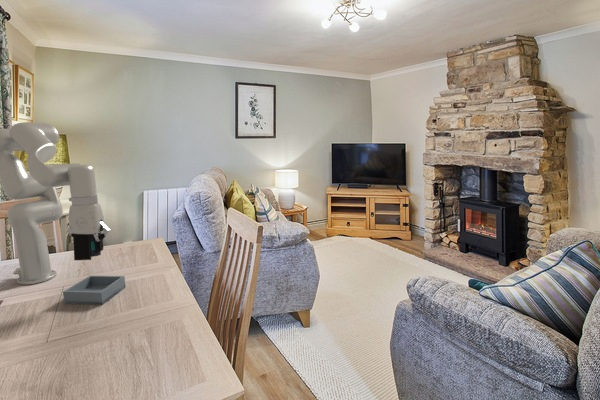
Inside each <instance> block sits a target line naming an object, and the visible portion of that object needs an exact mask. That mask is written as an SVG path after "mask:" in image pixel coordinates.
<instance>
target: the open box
mask: <svg viewBox="0 0 600 400" xmlns="http://www.w3.org/2000/svg"><path fill="white" fill-rule="evenodd" d="M126 287H127V286H126V277H125V276H124V275H89V276H87V277H85V278H83V279H82V280H80V281H78V282H77V283H74V284H73V285H72V286H70V287H69V288H66V289H65V290H63V291H62V294H63V301H64V305H95V306H98V305H99V306H100V305H101V306H102V305H104V304H106V303H107V302H109V301H110V300H111V299H113V297H115V296H117V295H118V294H119V293H120V292H122V290H124V289H125V288H126Z"/></svg>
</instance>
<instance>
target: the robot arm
mask: <svg viewBox="0 0 600 400" xmlns="http://www.w3.org/2000/svg"><path fill="white" fill-rule="evenodd" d="M59 140H60V134H59V132H58V130H57V128H56V127H55V126H54V125H52V124H50V123H45V122H19V123H15V124H13V125H12V126H11V127H10V128H0V183H1V186H2V189H3V192H4V193H5V196H6V197H7V198H8V199H10V200H13V201H17V200H18V201H20V200H21V202H19V203H16V204H13V205H11V206H10V207H9V208H8V209H7V218H8V220H9V221H8V222H9V224H10V226H11V228H12V232H13V235H14V240H15V246H16V250H17V257H18V263H19V267H16V269H15V270H14V271H13V275H18V278H17V279H16V282H17V284H18V285H34V284H39V283H43V282H46V281H49V280H52V279H53V278H55V277H56V276H57V271H56V270H54V269H52V267H51V261H50V253H49V248H48V241H47V235H46V233H45V232H44V231H43V230H42V229H41V228H40V227H39V226H38V225H41V224H46V223H51V222H56V221H59V220H61V218H62V217H63V215H64V214H63V213H64V211H63V206H62V203H61V200H60V198H59V194H58V190H57V188H59V187H63V186H65V187H66V186H67V187H68V186H69V192H70V193H69V194H70V197H69V198H68V201H69V202H71V205H69V209H68V210H69V211H68V225H69V227H68V228H66V232H67V234H69V235H71V237H72V238H73V233H74V234H88V235H92V234H93V235H94V237H95V239H96V242H95V250H96V253H98V252H100V251H101V252H102V251H103V250H104V239H105V237H106V236H107V235H109V233H111V229H110V228H109V227H108V226H107V225H106V223H105V218H104V214H103V210H102V206H101V204H100V203H99V200H98V192H97V181H96V176H95V175H96V174H95V167H93V166H92V165H90V164H80V163H74V162H73V163H59V164H58V163H57V164H46V162H49V161H51V160H52V159H53V158H54V157H55V156H56V154H57V150H58V149H57V146H56V145H57V144H58V142H59ZM11 152H25V154H27V159H26V166H25V163H24V162H23V160H21V159H20V158H18V156H16V155H15V154H13V153H11ZM26 167H27V168H26ZM27 170H28V172H27ZM56 187H57V188H56ZM34 198H39V199H38V200H30V201H24V202H22V200H28V199H34ZM98 235H99V236H98Z"/></svg>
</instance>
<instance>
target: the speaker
mask: <svg viewBox="0 0 600 400" xmlns="http://www.w3.org/2000/svg"><path fill="white" fill-rule="evenodd" d="M98 236H99V235H98ZM72 238H73V261H90V260H92V258H93V257H94V258H95V257H98V256H101V255H102V251H100V252H98V253H96V250H95V242H96V239H95V237H94V235H93V234H92V235H88V234H74V233H73V237H72Z"/></svg>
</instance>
